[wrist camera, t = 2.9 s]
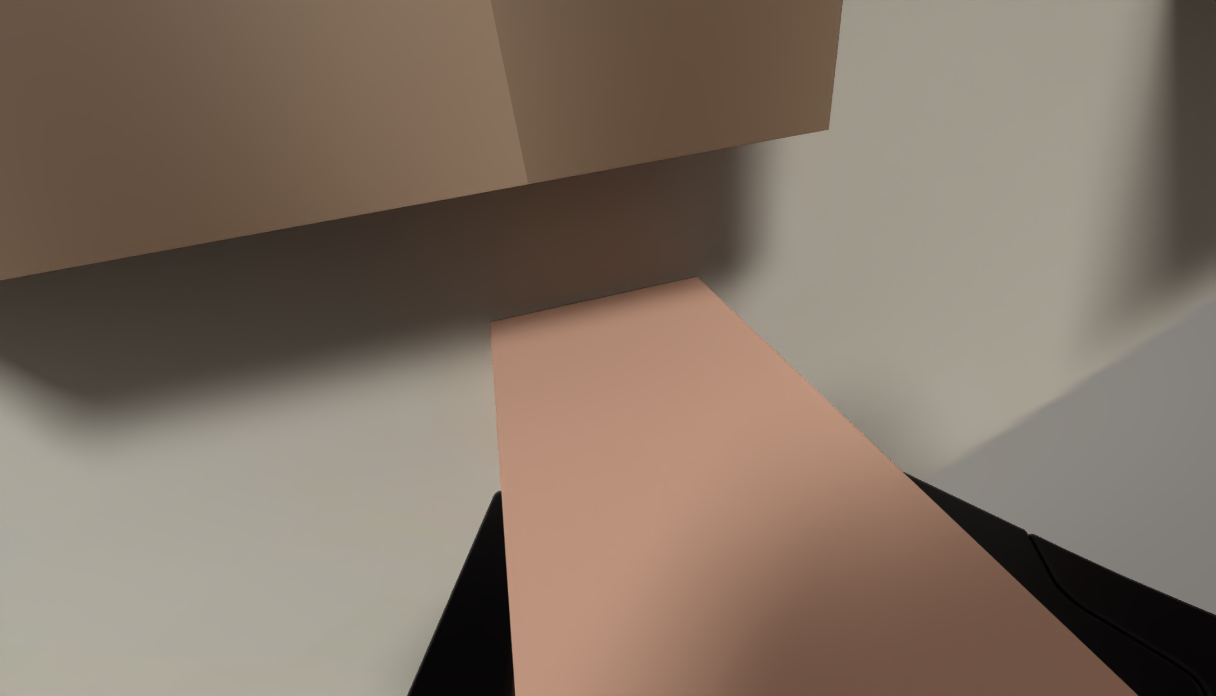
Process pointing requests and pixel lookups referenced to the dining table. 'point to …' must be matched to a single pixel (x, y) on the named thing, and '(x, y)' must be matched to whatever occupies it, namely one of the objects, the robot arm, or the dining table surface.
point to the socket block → (366, 106)
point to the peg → (733, 527)
